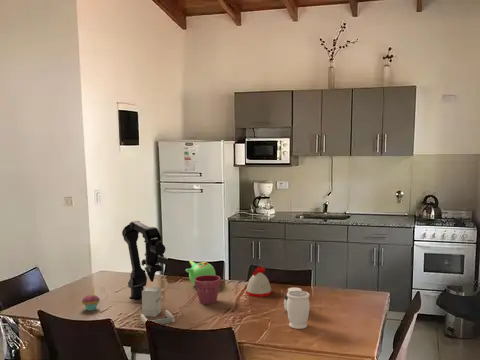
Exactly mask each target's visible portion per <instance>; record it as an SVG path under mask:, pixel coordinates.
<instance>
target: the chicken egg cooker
mask: <svg viewBox="0 0 480 360" xmlns="http://www.w3.org/2000/svg"><path fill="white" fill-rule="evenodd" d="M265 270H266V268H264V266H259V267H256V269H254V271H252V276H250V278H249V279H248V281H247V286H246V295H247V296H250V297H255V298H262V297H268V296H271V295H272V288H271V287H272V286H271V284H270V281H269V278H268V277H267V276H266V275H265V274H264V273H265Z"/></svg>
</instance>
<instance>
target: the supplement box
mask: <svg viewBox="0 0 480 360" xmlns="http://www.w3.org/2000/svg"><path fill="white" fill-rule="evenodd" d="M161 288H162V287H156V286H155V287H153V286H146V288H144V290H143V291H142V298H141V308H142V309H141V314H143V315H144V316H145V317H153V318H155V317H157V316H158V315H159V314H160V313H161V312H162V293H161V291H162V289H161Z"/></svg>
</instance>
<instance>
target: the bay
mask: <svg viewBox="0 0 480 360" xmlns="http://www.w3.org/2000/svg"><path fill="white" fill-rule="evenodd" d="M164 315H165V316H166V317H162V318H158V319H151V320H150V321H154V322H157V323H161V324H160V325H164V324H169V323H170V324H171V323H175V321H176V318H175V316H174V315H173V314H172V313H171V312H170V310H168V309H166V310H165V311H164ZM140 320H141V322H142V323H143V324H144V325H145V322H146V321H147V320H148V318H147V316H144V315H143V314H142V313H141V314H140ZM148 321H149V320H148Z"/></svg>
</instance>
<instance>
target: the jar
mask: <svg viewBox="0 0 480 360" xmlns="http://www.w3.org/2000/svg"><path fill="white" fill-rule="evenodd" d="M286 294H287V297H288V299H287V311H286V313H287V317H288V322H289V323H288V326H289V327H291V328H293V329H295V330H301V329H305V328H307V327H308V324H307V323H308V319H309V315H310V314H309V313H310V307H311V304H310V300H309V298H310V293H309V292H307V291H304V290H302V291H290V292H288V291H287V293H286Z"/></svg>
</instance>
